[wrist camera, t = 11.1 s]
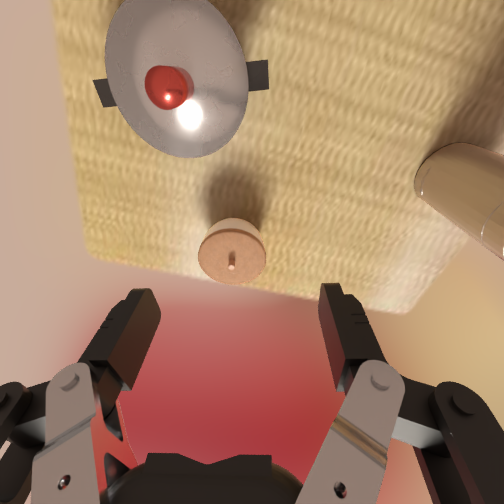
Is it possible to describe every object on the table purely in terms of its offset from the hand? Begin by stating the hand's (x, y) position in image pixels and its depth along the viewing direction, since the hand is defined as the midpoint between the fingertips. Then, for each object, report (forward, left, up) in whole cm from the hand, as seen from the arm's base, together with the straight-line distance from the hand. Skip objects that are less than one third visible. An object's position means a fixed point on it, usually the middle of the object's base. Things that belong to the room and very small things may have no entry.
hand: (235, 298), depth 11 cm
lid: (+6, -8, -22) cm, 25 cm away
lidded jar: (+4, +15, -30) cm, 33 cm away
